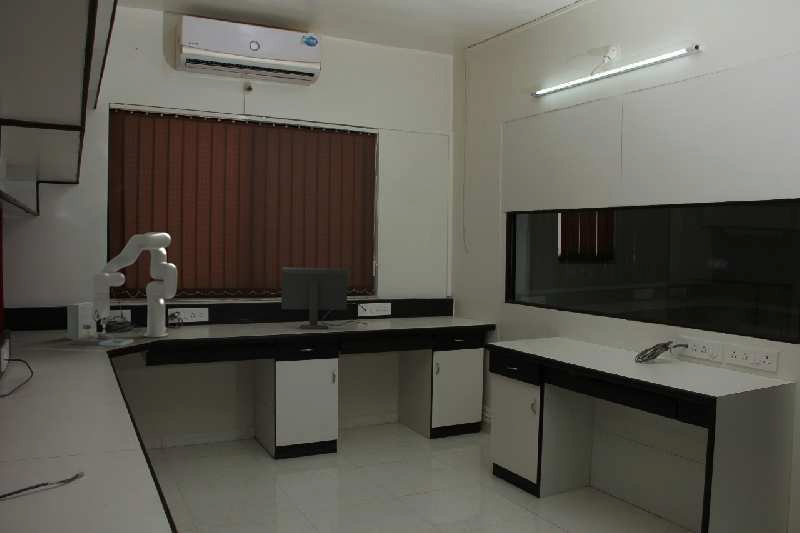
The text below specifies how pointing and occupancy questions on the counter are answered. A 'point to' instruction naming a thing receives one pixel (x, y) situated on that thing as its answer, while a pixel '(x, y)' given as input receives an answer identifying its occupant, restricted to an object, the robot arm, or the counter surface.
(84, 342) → the fuse holder
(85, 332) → the fuse
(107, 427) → the counter surface
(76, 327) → the hard drive box
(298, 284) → the computer monitor
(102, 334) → the fuse
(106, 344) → the parts tray
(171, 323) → the counter surface
